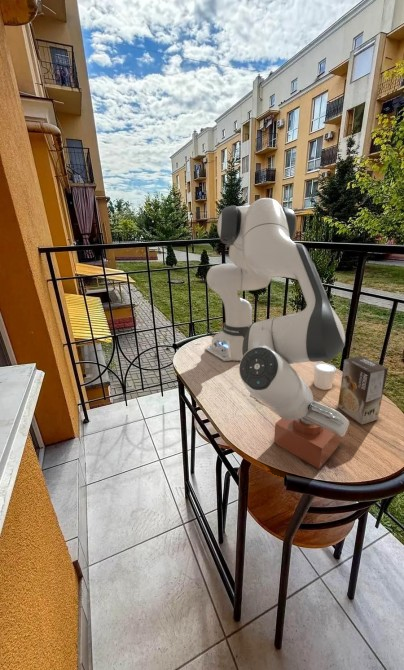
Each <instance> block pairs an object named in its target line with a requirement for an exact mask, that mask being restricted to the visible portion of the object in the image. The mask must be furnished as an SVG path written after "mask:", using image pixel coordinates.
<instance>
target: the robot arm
mask: <svg viewBox="0 0 404 670" xmlns="http://www.w3.org/2000/svg"><path fill="white" fill-rule="evenodd" d="M297 222H298V221H297V215H296V213H295V211H294V210H293V209H291V208H288V207H285V206H282V205H281V203H279V202H278V201H277V200H276V199H273V198H270V197H263V198H259V199H257V200H255V201H253V202H251V204H250V205H238V206H236V205H228V206H225V207H224V208H223V209H222V210H221V211H220V214H219V217H218V219H217V222H216V230H217V234H218V237H219V240H220V242H221V243H222V244H224V245H227V246H229V248H228V257H229V259H230V261H231V262H232V263H231V262H229V263H220V264H216V265H212V266H211V267H210V268H209V269H208V271H207V273H206V278H205V279H206V283H207V286H208V287H209V289H210V290H211V291H213V292H214V293H215V294H217V296H218V297H219V298H220V300H221V301H222V304H223V307H224V316H225V322H223V323H221V324H220V327H221V328H222V329H221V330H220V331H219V332H217V333H213V332H211V330H210V329H206V332H208V334H209V335H211V336H212V338H211V344H208V346H206V347H205V348H206V351H208V352H209V353H211V354H212V355H214V356H215V357H217V358H219V359H221V360H222V361H223V362H230V361H234V362H235V361H236V362H237V361H238V362H239V361H240V362H239V367H238V370H239V371H238V373H239V377H240V380H241V382H242V383H243V385H244V387H245V388H246V389H247V391H248V392H249V395H250V396H251V397H252V398H253V399H255V400H257V402H259V403H261V404H262V405H264V406H265V407H266V408H268V409H269V410H270V411H271V412H273V413H274V414H275V415H276V416H277V417H279V418H280V419H281V418H283V419H285V420H298V419H301V418H302V419H304V420H307V421H309V422H311V423H313V424H315V425H317V426H319V427H321V428H323V429H325V430H327V431H329V432H331V433H334V434H336V435H338V436H340V438H341V437H344V436H345V435H346V433H347V431H348V429H349V426H350V421H349V419H348V418H347V417H345V415H343V414H342V413H341V412H340V411H338V410H336V409H334V408H332V407H330V406H327V405H325V404H323V403H320V402H318V401H316V400H314V397H313V396H314V395H313V392H312V390H311V388H310V387H309V386H308V384H307V383H306V382H305V381H304V380H303V378H302V377H301V376H300V375H298V373H297V371H296V370H295V368H294V367H293V366H292V365H294V364H295V365H296V364H301V363H302V364H303V363H308V362H311V363H317V362H318V363H319V362H331V361H333V360H334V359H335V358H337V356H338V355H339V354H340V353H341V352H342V351H343V349H344V348H345V346H346V333H345V328H344V326H343V323H342V321H341V319H340V317H339V315H338V314H337V313H336V312H335V310H334V308H333V307H332V305H331V302H330V300H329V297H328V295H327V293H326V290H325V288H324V285H323V283H322V280H321V277H320V275H319V273H318V271H317V268H316V266H315V263H314V261H313V259H312V256H311V255H310V253H309V251H308V248H306V246H305V245H303V243H298V242H294V241H293V239H294V237H295V235H296V232H297V225H298V224H297ZM272 278H287V279H293V280H297V282H298V284H299V287H300V290H301V292H302V293H301V294H302V296H303V298H304V301H305V304H306V306H305V308H304V309H302V310H301V311H298V312H292V313H289V314H286V315H285V314H284V315H281V316H277V317H275V316H274V317H272V318H271V317H270V318H267V319H263V320H259V321H256V322H253V305H252V304H251V302H250V301H248V300H247V299H245V298H242V297H240V296H239V292H246V291H247V292H249V291H258V290H261V289H265V288H267V287H268V286H269V285H270V283H271V280H272Z"/></svg>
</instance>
